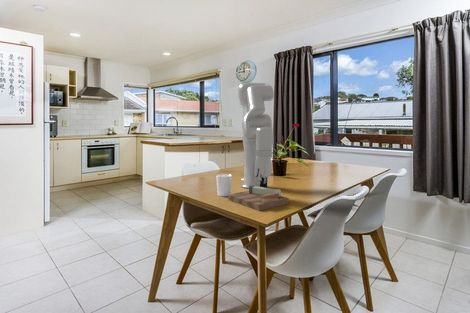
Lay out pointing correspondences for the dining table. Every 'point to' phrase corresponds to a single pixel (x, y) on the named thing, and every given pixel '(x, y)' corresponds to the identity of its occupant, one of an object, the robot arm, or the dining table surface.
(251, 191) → the stool leg
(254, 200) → the stool seat
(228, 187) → the white cup
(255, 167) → the robot arm
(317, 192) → the dining table surface
